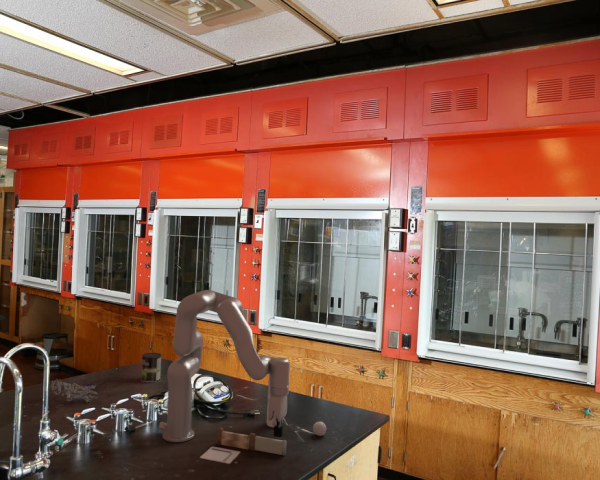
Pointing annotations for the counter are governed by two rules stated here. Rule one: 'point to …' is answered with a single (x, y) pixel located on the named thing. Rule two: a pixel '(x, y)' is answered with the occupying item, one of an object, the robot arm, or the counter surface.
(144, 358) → the coffee can
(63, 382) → the dark piece
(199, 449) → the counter surface
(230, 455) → the card
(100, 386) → the counter surface
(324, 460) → the counter surface
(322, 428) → the pinkish brown egg
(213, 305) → the robot arm
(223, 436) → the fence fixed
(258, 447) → the cream flat slab
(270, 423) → the cylindrical container
